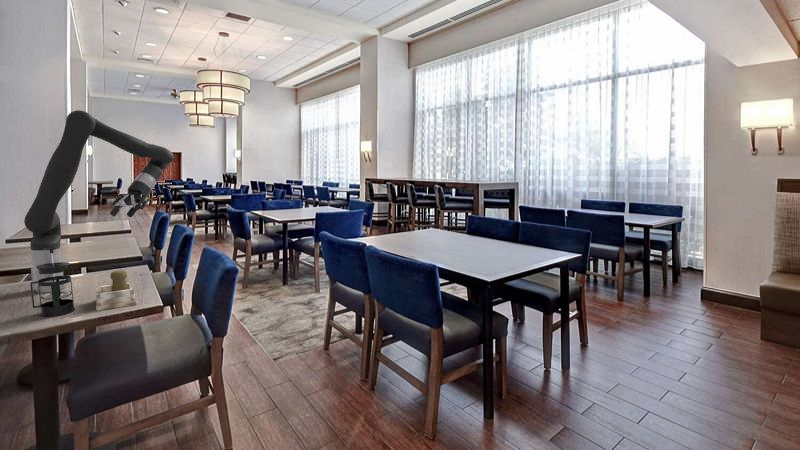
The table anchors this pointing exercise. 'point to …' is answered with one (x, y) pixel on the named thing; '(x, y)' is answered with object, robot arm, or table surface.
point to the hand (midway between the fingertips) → (120, 215)
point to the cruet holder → (114, 297)
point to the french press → (54, 289)
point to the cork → (119, 280)
